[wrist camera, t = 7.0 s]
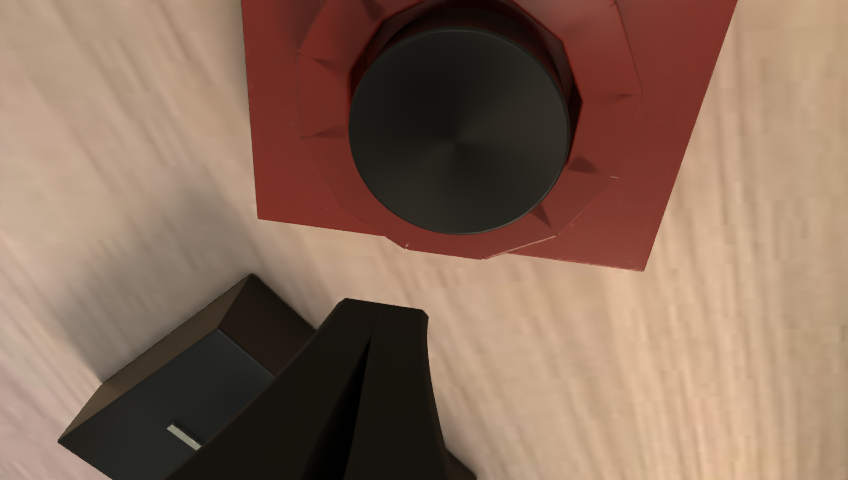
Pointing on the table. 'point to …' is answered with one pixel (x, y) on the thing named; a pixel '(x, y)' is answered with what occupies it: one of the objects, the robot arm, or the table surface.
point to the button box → (585, 97)
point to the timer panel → (191, 386)
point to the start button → (460, 122)
